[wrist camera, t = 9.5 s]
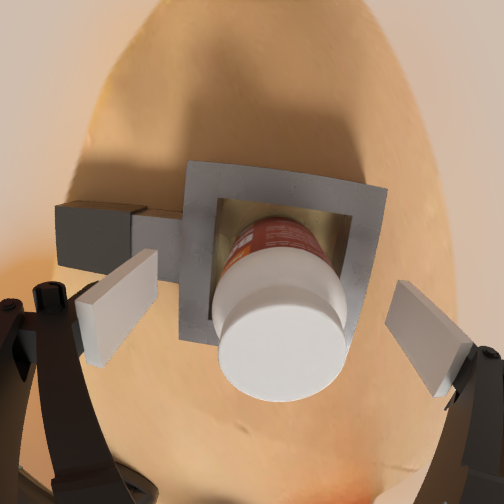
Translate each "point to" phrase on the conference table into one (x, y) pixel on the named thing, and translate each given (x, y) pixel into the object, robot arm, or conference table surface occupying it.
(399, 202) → the conference table surface
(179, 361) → the conference table surface
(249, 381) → the pill bottle
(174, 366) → the conference table surface
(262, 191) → the grey square pan
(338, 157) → the conference table surface
